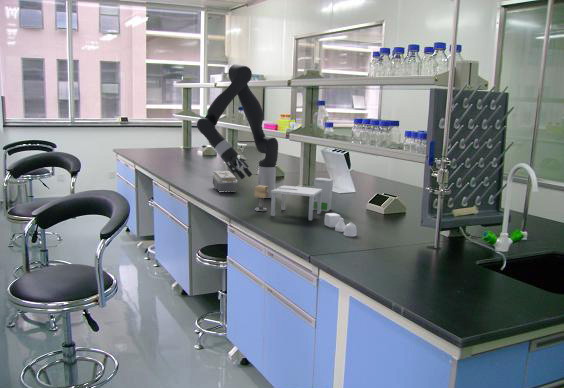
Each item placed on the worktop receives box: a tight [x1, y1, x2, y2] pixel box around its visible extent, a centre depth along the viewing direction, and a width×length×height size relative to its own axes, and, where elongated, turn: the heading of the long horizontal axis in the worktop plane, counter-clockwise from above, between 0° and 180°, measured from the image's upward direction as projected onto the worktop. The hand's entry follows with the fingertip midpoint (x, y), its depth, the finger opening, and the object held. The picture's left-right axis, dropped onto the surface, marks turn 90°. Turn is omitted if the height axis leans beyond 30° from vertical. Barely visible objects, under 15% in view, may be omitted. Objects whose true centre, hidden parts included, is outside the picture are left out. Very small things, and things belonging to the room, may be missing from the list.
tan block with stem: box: [254, 185, 268, 212], centre depth 244 cm, size 6×6×12 cm
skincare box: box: [313, 177, 334, 212], centre depth 251 cm, size 8×7×16 cm
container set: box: [324, 212, 358, 237], centre depth 213 cm, size 20×5×6 cm, turn 24°
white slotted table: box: [270, 185, 322, 221], centre depth 238 cm, size 16×20×12 cm
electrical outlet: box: [212, 170, 239, 192], centre depth 296 cm, size 12×28×10 cm, turn 19°
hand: (247, 176), depth 244 cm, fingers open, 8 cm apart
